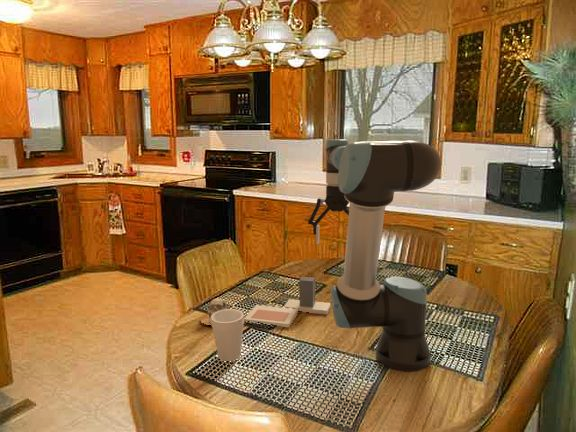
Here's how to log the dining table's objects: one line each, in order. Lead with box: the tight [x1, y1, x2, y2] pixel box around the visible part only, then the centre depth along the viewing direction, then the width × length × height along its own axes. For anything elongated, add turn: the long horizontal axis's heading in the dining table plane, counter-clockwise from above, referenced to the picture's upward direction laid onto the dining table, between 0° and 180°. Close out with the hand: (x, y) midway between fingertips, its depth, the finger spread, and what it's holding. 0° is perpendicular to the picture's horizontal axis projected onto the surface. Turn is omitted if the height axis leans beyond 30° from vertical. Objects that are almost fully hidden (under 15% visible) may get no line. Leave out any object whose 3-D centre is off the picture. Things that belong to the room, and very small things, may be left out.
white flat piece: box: [244, 303, 299, 328], centre depth 153 cm, size 13×16×2 cm
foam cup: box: [211, 308, 245, 361], centre depth 126 cm, size 10×9×13 cm
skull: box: [202, 297, 229, 327], centre depth 152 cm, size 12×10×10 cm
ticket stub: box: [283, 276, 332, 316], centre depth 159 cm, size 7×16×12 cm, turn 74°
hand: (336, 244), depth 154 cm, fingers open, 13 cm apart
